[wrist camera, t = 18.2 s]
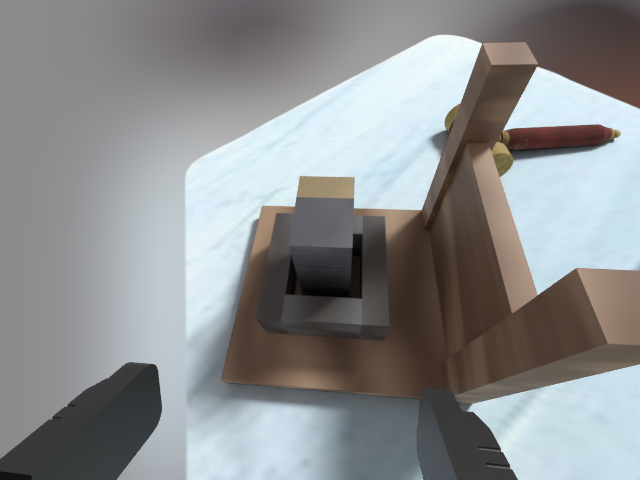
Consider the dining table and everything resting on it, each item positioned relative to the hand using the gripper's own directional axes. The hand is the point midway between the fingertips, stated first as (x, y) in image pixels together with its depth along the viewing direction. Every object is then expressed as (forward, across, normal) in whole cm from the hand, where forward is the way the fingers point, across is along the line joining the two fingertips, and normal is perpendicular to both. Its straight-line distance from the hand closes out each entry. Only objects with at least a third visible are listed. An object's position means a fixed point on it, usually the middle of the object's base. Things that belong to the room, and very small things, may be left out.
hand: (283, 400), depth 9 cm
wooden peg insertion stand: (+20, -2, +4) cm, 21 cm away
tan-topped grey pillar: (+19, 0, +4) cm, 20 cm away
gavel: (+36, -25, -10) cm, 45 cm away
